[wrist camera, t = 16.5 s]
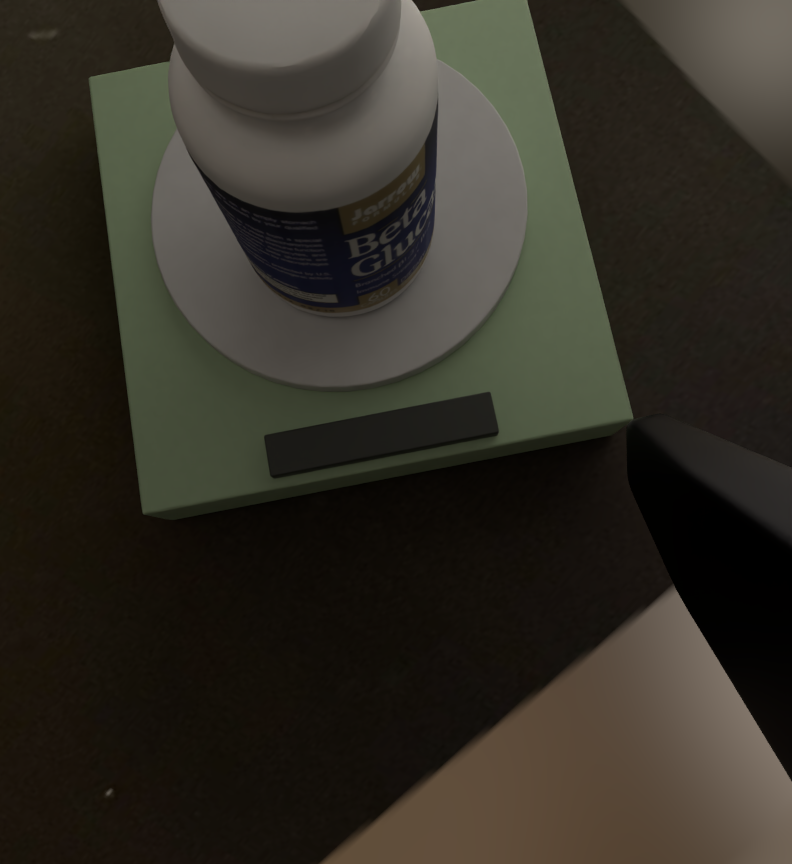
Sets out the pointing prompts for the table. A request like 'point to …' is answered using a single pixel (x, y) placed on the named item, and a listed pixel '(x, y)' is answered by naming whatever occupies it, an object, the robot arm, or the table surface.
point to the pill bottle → (313, 139)
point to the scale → (369, 332)
